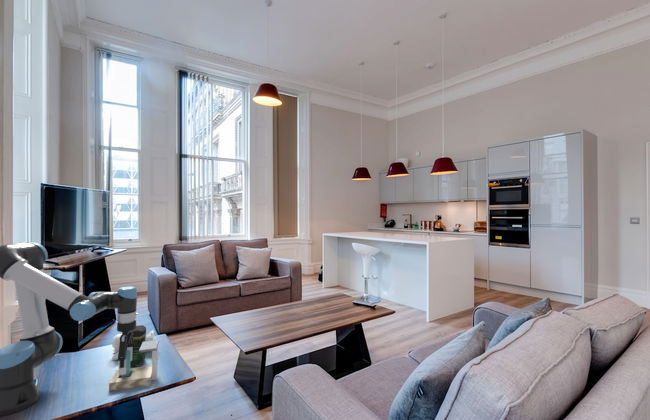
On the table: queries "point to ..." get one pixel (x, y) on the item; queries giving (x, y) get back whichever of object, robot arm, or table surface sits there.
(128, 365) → the peg
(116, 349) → the cherub figurine
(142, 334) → the coffee jar
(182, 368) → the table surface
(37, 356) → the robot arm
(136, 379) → the socket block
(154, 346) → the light grey angular piece
